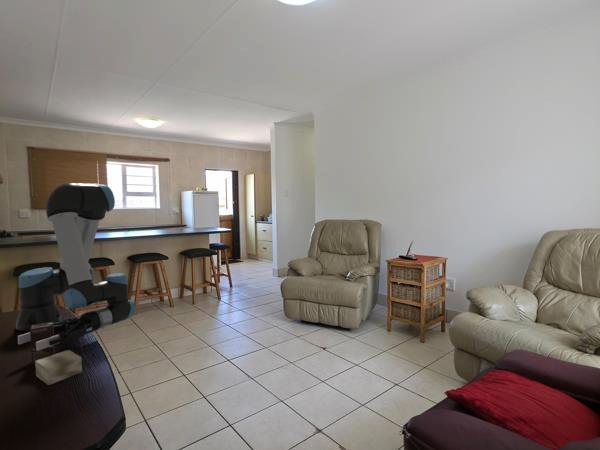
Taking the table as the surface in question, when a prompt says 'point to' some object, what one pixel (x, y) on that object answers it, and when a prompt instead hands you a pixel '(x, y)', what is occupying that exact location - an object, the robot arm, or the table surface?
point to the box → (38, 334)
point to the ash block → (58, 366)
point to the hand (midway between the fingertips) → (27, 343)
